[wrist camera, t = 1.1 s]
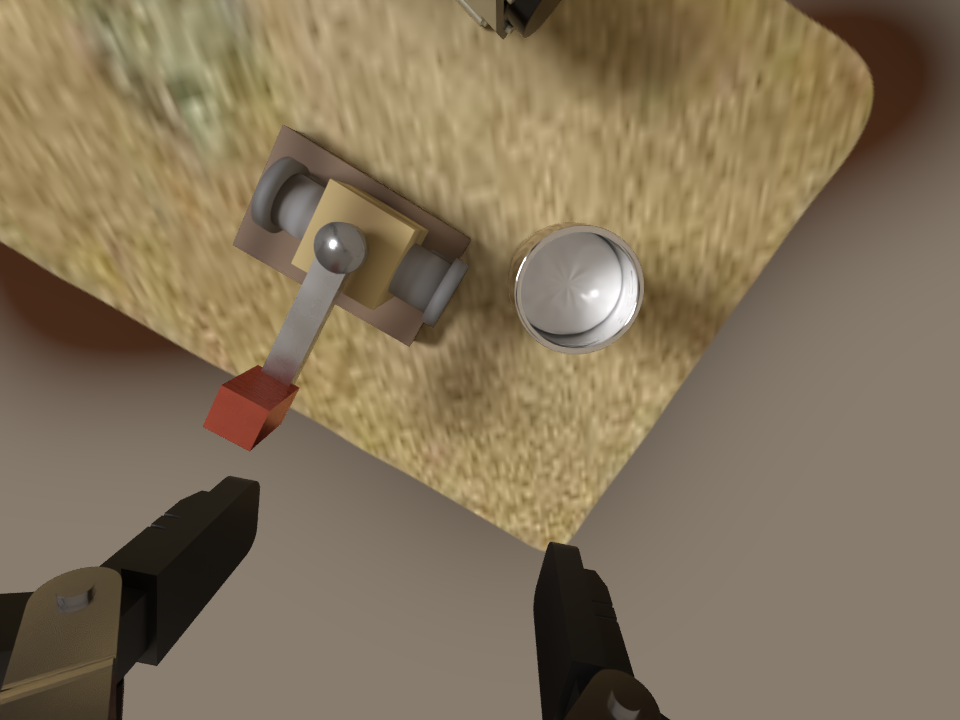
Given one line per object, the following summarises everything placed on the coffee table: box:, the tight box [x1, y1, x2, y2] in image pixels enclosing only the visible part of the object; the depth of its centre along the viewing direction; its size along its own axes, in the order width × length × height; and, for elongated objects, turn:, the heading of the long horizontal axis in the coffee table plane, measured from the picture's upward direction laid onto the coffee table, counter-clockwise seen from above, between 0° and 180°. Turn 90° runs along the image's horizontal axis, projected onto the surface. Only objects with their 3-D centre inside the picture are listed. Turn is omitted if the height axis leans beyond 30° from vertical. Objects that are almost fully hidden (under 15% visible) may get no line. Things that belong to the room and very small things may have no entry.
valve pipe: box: [233, 125, 471, 346], centre depth 32 cm, size 17×10×10 cm, turn 59°
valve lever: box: [203, 222, 370, 451], centre depth 27 cm, size 14×3×5 cm, turn 149°
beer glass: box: [508, 222, 644, 354], centre depth 30 cm, size 7×7×15 cm
